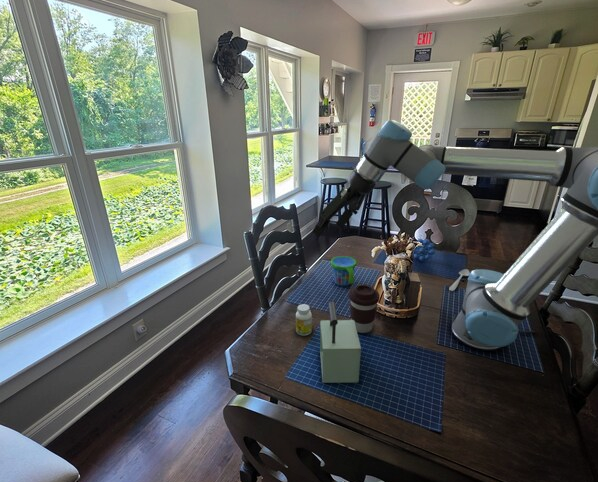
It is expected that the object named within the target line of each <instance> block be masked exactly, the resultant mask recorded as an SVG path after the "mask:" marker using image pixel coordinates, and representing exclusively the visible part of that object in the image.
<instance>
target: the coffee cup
mask: <svg viewBox="0 0 598 482" xmlns="http://www.w3.org/2000/svg"><path fill="white" fill-rule="evenodd" d="M348 299H349V313H350V314H349V315H350V316H349V317H350V320H354V322H355V326H356V330H357V333H360V334H366V333H369V332H371V331H372V330H373V326H374V322H375V319H376V312H377V309H378V308H377V307H378V303H379V301H380V293H379V291H378V290H376V289H375V288H374V287H373V286H371V285H368V284H357V285H355V286H354V287H352V288H350V290H348Z"/></svg>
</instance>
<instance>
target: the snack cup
mask: <svg viewBox="0 0 598 482" xmlns="http://www.w3.org/2000/svg"><path fill="white" fill-rule="evenodd" d="M330 265H331V269H332V276H333V282H334V283H335V284H336V285H337V286H341V287H347V286H349V285H351V284H354V282H355V275H354V273H355V268H356V266H357V260H356V259H355V258H353V257H351V256H347V255H339V256H334V257H332V259H331V260H330Z"/></svg>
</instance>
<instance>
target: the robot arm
mask: <svg viewBox="0 0 598 482" xmlns="http://www.w3.org/2000/svg"><path fill="white" fill-rule="evenodd" d="M412 135H413V133H412V131H411V130H410V129H409V128H407V127H406V126H405V125H404V124H403V123H400V122H399V121H397V120H394V119H389V120H386V121H385V123H384V124H383V126H382V127H381V129H380V130H379V131H378V132H377V133H376V135H375V137H374V138H373V140H372V142H371V143H370V145H369V146H368V148H367V149H366V151H365V152H364V153H363V155H361V156H360V157H359V161H358V163H357V165H356V167H355V168H353V170H352V171H351V173H350V175H349V176H348V178H347V181H348V183H349V186H348V187H346V188H345V187H342V188H341V189H340V190H339V192H338V193H337V194H336V195H335V196H334V197H333V198H332V200H331V201H330V202H329V203H328V204H327V205H326V206H325V207H324V208H323V209H322V210H321V211H320V213H319V216H320V219H318V222H317V223H316V225H315V226H314V227H313V229H312V232H313V234H315V236H316V237H317V238H320V237H321V236H322V234H323V233H324V231H325V230H326V228H327V227H328V226H329V224H330V222H331V219H332V218H334V216H335V215H337V214H338V213H339V212H340V211H341V210H342V209H343V208H345V207H347V208H345V209H344V210H343V212H342V214H340V216H339V218H338V220H337V221H336V223H335V225H336V226H338V227H339V228H340V230H343V229H344V227H345V226H346V224H347V223H348V222H349V220H350V219H351V218H352V217H353V215H357V214H358V213H359V210H360V209H361V208H362V204H363V203H364V201H365V198H366V196H367V195H368V194H370V193H372V191H373V190H374V188H375V187H376V186H377V183H378V182H379V181H380V180H382V178H383V176H384V175H385V173H386V172H387V170H388V169H389V167H392V168H393V169H395V170H396V171H397V172H399V173H400V174H402V175H403V176H404V177H406V178H407V179H408V180H410V181H412V182H413V183H414V185H417V186H419V187H420V188H421V189H423V190H427V191H428V190H429V189H431V188H432V187H433V186H434V185H435V184H436V183H438V180H440V178H442V176H443V175H454V176H466V177H480V178H490V179H491V178H492V179H505V180H518V181H530V182H531V181H534V182H545V183H548V184H549V185H550V187H557V188H565V189H568V190H567V191H566V192H565V193H564V194H563V196H562V197H561V198H560V201H561V204H562V206H561V207H562V208H561V209H560V210H559V212H558V213H557V214H556V215H555V216H554V217H553V218H552V220H551V221H550V222H549V223H548V224H547V225H546V226H545V227H544V229H542V230H541V232H540V233H539V234H538V235H537V236H536V237H535V239H534V240H533V241H532V242H531V243H530V245H528V246H527V248H526V249H525V250H524V251H523V252H522V253H521V254H520V256H519V257H518V258H517V259H516V260H515V262H514V263H513V264H512V265H511V266H510V267H509V268H508V269H507V270H506V272H505V273H502V272H499V271H495V270H491V269H474V270H471V271H470V275H469V276H468V278H467V283H466V289H465V292H464V298H463V302H462V307H461V310H460V312H459V313H458V314H457V315H456V313H455V314H454V315H453V317H452V321H451V322H452V323H451V335H452V336H453V337H454V338H455V339H456V340H457V341H458V342H459V343H461V344H462V345H464V346H466V347H468V348H470V349H473V350H476V351H480V352H487V353H488V352H489V353H490V352H496V351H499V350H500V349H502V348H503V347H506V346H509V345H511V344H512V343H514V342H515V341H516V339H517V337H518V334H536V331H535V330H523V331H522V330H519V329H518V327H519V325H521V324H522V323H523V322H524V320H526V319H527V318H528V317H529V315H530V314H531V310H530V306H529V305H530V304H531V303H532V302H533V301H534V300H536V298H537V297H538V296H539V295H541V294H542V292H543V291H544V290H546V288H547V287H549V285H550V284H551V283H553V281H554V280H555V279H556V278H558V277H559V275H560V274H562V272H563V271H564V270H566V268H567V267H568V266H569V265H570V264H571V263H572V262H573V261H574V260H576V258H578V257H579V255H581V254H582V252H584V251H585V249H587V247H588V246H589V245H590V244H591V243H593V242H594V240H596V239H597V238H598V146H586V147H585V146H584V147H581V146H580V147H570V146H569V147H567V146H565V147H564V146H561V147H559V148H558V149H556V150H535V149H509V148H487V147H486V148H484V147H460V146H435V145H433V144H422V145H420V146H417V145H416V144H414V143H413V142H412V141H411V138H412ZM455 317H456V318H455Z"/></svg>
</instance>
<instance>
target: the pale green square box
mask: <svg viewBox="0 0 598 482" xmlns="http://www.w3.org/2000/svg"><path fill="white" fill-rule="evenodd" d="M328 310H329V320H327V319H326V320H325V319H323V320H320V327H319V328H320V336H319V337H320V339H319V354H320V355H319V356H320V370H321V380H322V381H321V383H326V384H327V383H328V384H329V383H333V384H334V383H335V384H337V383H343V384H344V383H346V384H347V383H359V380H360V369H361V368H360V367H361V356H362V347H361V342H360V337H359V334H358V332H357V330H356V326H355V322H354V320H351V319H338V315H337V308H336V303H335V301H329V302H328Z"/></svg>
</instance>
